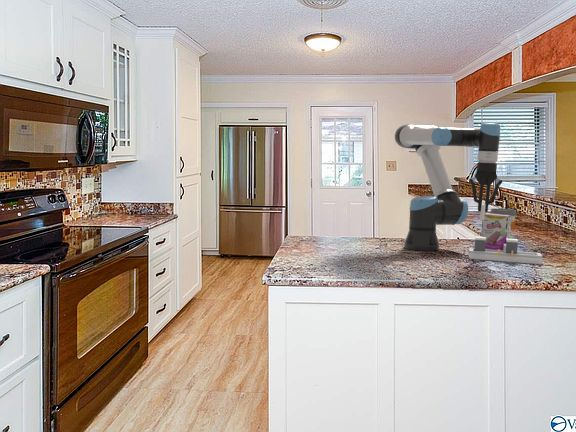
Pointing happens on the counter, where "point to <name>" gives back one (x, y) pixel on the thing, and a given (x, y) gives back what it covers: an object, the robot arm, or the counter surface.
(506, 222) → the candy bar box
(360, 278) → the counter surface
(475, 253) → the switch bank
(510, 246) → the right tab
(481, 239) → the left tab
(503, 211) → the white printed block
